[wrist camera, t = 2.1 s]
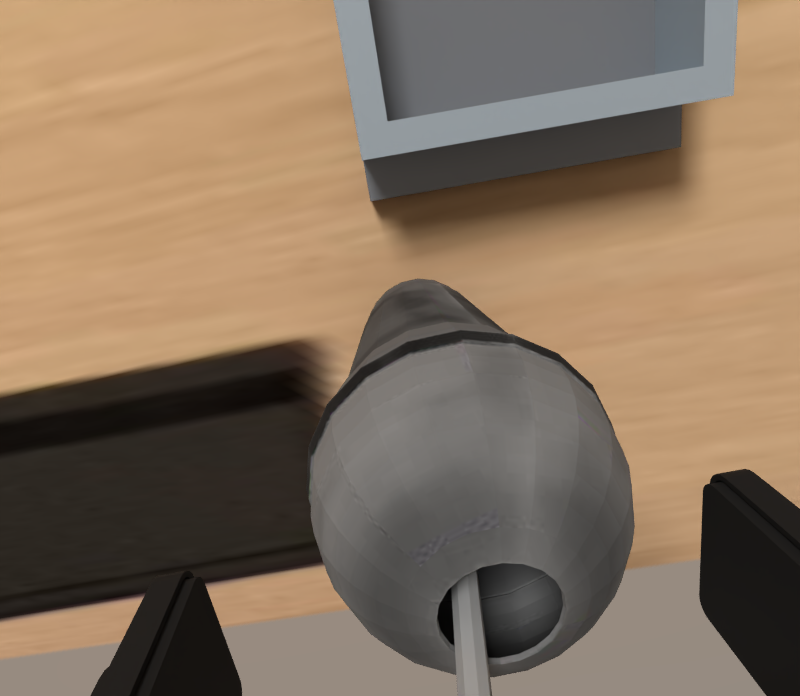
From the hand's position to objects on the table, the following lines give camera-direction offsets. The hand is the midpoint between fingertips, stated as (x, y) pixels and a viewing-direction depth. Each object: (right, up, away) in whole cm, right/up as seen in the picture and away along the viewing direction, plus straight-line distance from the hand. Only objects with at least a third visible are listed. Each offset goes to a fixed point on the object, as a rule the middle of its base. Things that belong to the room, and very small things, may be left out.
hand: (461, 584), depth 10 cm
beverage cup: (0, +5, +14) cm, 15 cm away
